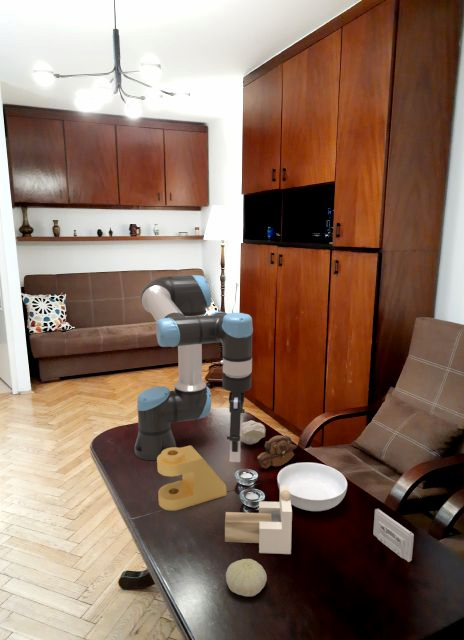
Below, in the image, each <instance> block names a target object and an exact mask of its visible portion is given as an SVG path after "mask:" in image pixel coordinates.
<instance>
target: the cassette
mask: <svg viewBox="0 0 464 640" xmlns="http://www.w3.org/2000/svg"><path fill="white" fill-rule="evenodd" d="M373 517H374V520H373V536H374V537H376V538H377V540H378V541H380V542H381V543H382V544H383V545H385V546H386V547H387V548H388V549H390V550H391V551H392V552H394V553H395V554H396V555H397V556H399V557H400V558H401V559H404V560H405V561H407V562H408V563H410V562H411V561H412V560H413V559H412V558H413V549H414V539H415V538H414V537H415V535H414V533H413V532H412V531H410V530H409V529H407V528H406V527H404V526H403V525H402V524H400V523H399V522H398V521H396V520H394V519H393V518H392V517H390V516H389V515H388V514H386V513H385V512H383V511H382V510H381V509H380V508H375V509H374V516H373Z"/></svg>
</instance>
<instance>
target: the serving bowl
mask: <svg viewBox="0 0 464 640" xmlns="http://www.w3.org/2000/svg"><path fill="white" fill-rule="evenodd" d="M276 480H277V486H278V490H279V491H280V486H289V492H290V494H291V497H290V500H291V506H294V507H295V508H299V509H301V510H303V511H304V510H305V511H310V512H322V511H328V510H330V509H332V508H335V507H336V506H338V505H339V504H341V502H342V501H343V499H344V498H345V496H346V493H347V490H348V481H347V479H346V477H345V476H344V474H343V473H342V472H340V471H338V470H337V469H336V468H334V467H331V466H328V465H326V464H322V463H318V462H296V463H291V464H288V465H286V466H285V467H283V468H281V469H280V470H279V472H278V474H277V477H276Z"/></svg>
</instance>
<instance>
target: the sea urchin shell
mask: <svg viewBox="0 0 464 640" xmlns="http://www.w3.org/2000/svg"><path fill="white" fill-rule="evenodd" d="M267 580H268V576H267V573H266V570H265V569H264V567H263V566H262V565H261V564H260V563H259V562H258V561H256V560H254V559H252V558H243V559H239V560H236V561H233V562H231V563H230V564H229V566H228V567H227V570H226V572H225V581H226V585H227V586H228V589H229V590H230V591H231V592H232V593H235V594H237V595H239V596H243V597H255V596H256V595H257V594H259V593H260V592H261V591H262V589H264V587H265V586H266V583H267Z"/></svg>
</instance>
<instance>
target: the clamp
mask: <svg viewBox="0 0 464 640" xmlns="http://www.w3.org/2000/svg"><path fill="white" fill-rule="evenodd" d="M156 463H157V464H156V466H157V472H158V474H160V475H161V476H163V477H178V476H181V475H182V476H181V477H182V479H181V480H177V481H173V482H170V483H167V484H164V485H163V486H161V487H160V488H159V489H158V505H159V506H160V508H161V509H163V510H165V511H173V512H175V511H179V510H184V509H186V508H189V507H192V506H196V505H199V504H202V503H205V502H208V501H212V500H215V499H219V498H222V497H225V496H227V484H225V482H224V481H223V480H222V478H221V477H220V476H219V475H218V474H217V473H216V472H215V470H213V468H212V467H211V466H210V465H209V464H208V462H207V461H206V460H205V459H204V457H202V456H201V454H200V453H198V451H197V450H196V449H195V448H194V447H193V445H187V446H186V445H185V446H181V447H177V446H176V447H171V448H167V449H165V450H163V451H162V452H161V454H160V455H159V456H158V457H157V460H156Z"/></svg>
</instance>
